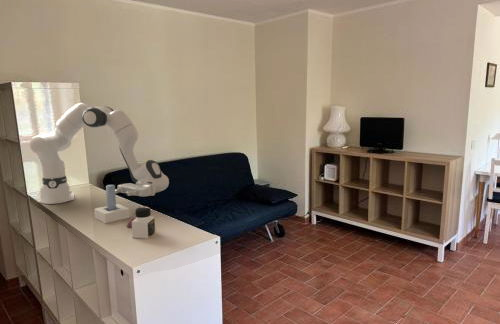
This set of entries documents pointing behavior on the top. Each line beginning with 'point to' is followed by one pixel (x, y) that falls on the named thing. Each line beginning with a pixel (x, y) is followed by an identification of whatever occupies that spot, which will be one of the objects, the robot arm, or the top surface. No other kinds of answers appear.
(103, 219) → the socket block
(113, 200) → the peg
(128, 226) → the video game controller
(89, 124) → the robot arm
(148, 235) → the medicine bottle
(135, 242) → the top surface
